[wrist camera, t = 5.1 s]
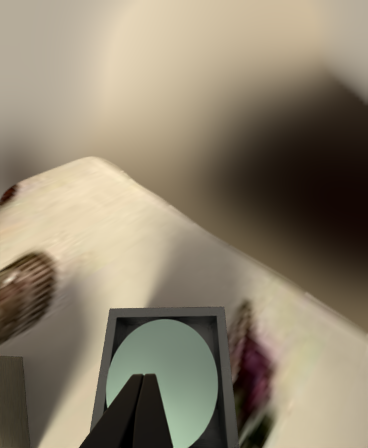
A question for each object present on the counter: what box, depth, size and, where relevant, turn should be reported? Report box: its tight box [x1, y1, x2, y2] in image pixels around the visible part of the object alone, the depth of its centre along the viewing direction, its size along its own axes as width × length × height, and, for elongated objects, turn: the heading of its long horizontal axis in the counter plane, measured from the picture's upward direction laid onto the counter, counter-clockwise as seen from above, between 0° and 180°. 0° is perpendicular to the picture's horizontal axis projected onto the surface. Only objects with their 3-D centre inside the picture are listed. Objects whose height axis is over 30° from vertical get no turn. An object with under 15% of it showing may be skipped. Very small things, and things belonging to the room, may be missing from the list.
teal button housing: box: [90, 307, 239, 448], centre depth 15 cm, size 7×7×8 cm
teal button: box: [106, 319, 218, 448], centre depth 11 cm, size 5×5×2 cm
